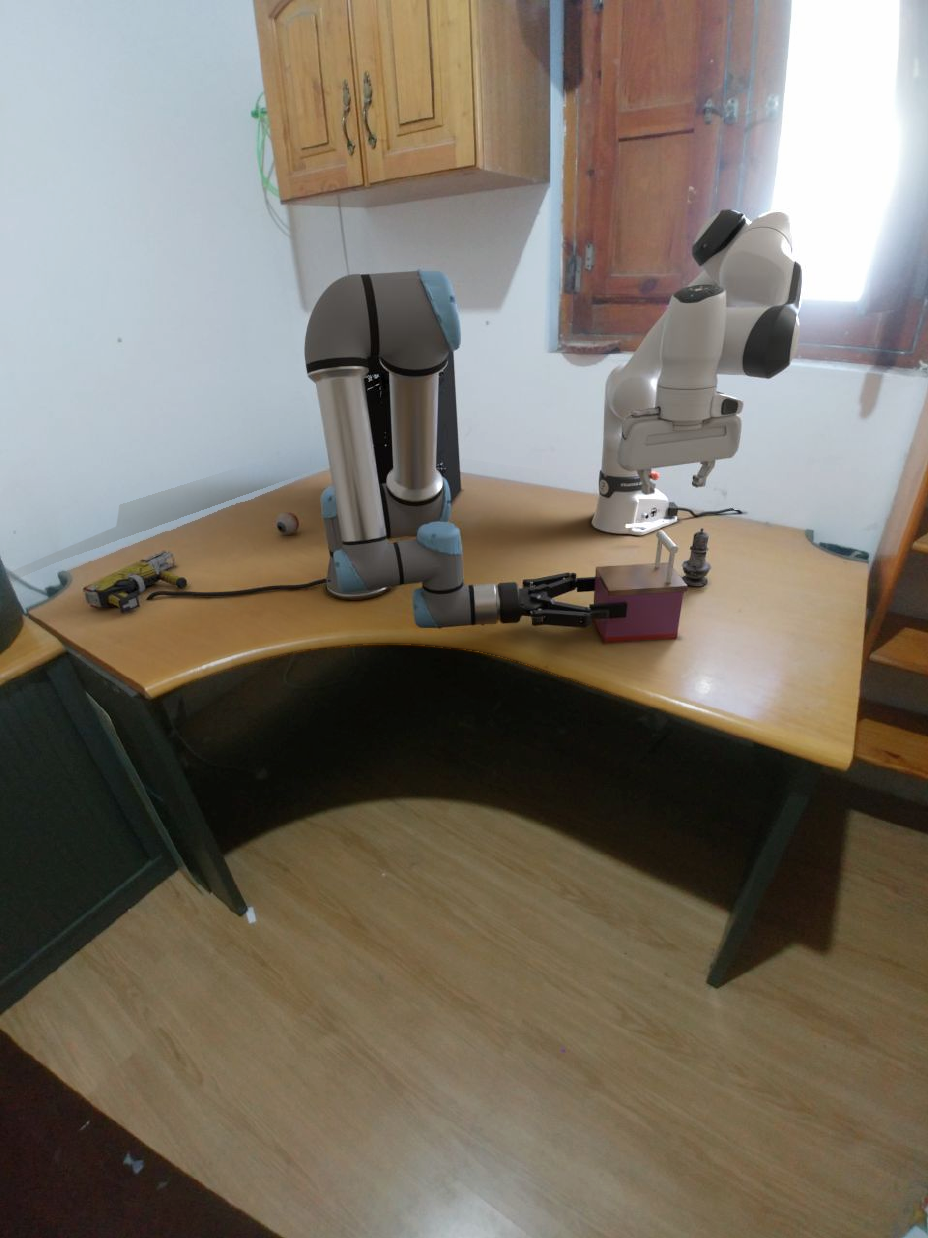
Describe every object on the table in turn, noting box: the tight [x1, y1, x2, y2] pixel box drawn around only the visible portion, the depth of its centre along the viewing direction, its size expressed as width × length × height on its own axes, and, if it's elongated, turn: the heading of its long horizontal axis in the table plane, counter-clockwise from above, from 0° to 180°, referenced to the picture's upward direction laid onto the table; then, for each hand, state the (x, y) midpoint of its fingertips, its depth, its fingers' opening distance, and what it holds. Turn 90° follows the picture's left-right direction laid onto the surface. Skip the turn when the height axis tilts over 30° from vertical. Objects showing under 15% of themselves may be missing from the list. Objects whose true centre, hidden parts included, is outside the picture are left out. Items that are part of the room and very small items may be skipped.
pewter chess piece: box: [681, 527, 712, 587], centre depth 126 cm, size 6×6×12 cm
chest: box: [593, 573, 684, 643], centre depth 112 cm, size 13×10×10 cm
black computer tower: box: [364, 351, 462, 505], centre depth 166 cm, size 38×20×45 cm, turn 167°
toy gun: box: [82, 550, 188, 615], centre depth 138 cm, size 5×24×15 cm
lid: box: [595, 529, 689, 596], centre depth 108 cm, size 14×10×8 cm
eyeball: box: [275, 511, 300, 536], centre depth 163 cm, size 6×6×6 cm
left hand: (618, 595), depth 111 cm, fingers closed on chest, 10 cm apart
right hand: (673, 489), depth 101 cm, fingers open, 8 cm apart
